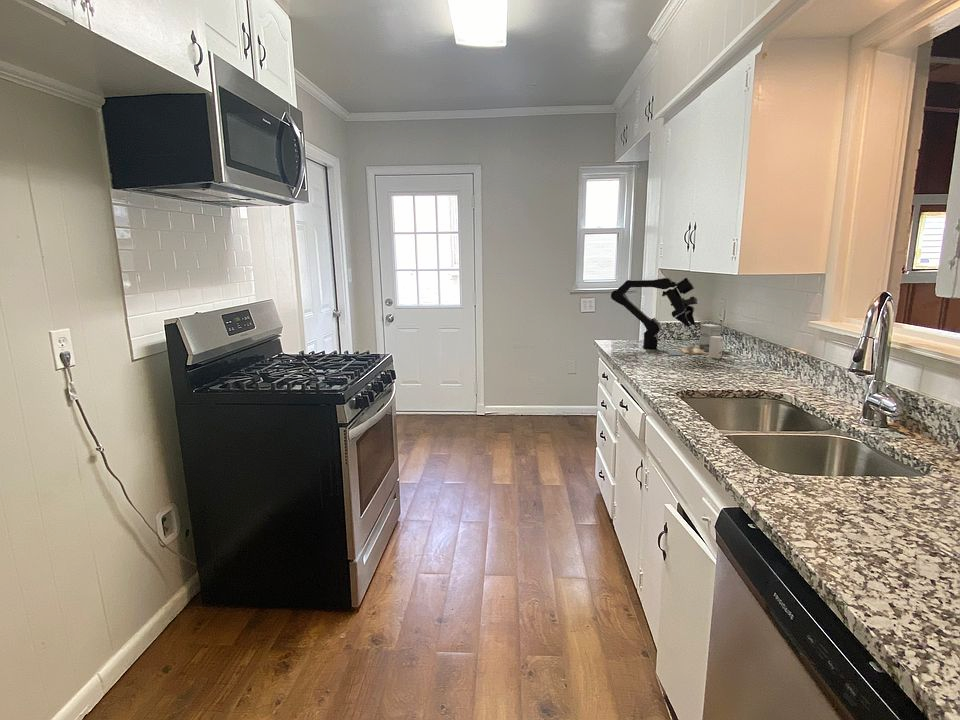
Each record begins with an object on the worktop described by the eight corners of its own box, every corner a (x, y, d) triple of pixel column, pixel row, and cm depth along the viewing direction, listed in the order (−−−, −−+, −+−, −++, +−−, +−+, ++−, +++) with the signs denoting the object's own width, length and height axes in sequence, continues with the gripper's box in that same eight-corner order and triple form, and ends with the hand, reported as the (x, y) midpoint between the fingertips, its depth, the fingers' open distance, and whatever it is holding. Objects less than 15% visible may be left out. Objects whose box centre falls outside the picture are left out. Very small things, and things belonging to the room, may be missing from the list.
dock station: (684, 353, 262) (685, 346, 261) (679, 349, 275) (679, 341, 274) (723, 355, 259) (724, 347, 258) (716, 350, 271) (717, 343, 271)
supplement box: (698, 347, 280) (700, 324, 277) (709, 347, 282) (711, 323, 279) (707, 350, 273) (710, 326, 270) (719, 349, 275) (721, 325, 272)
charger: (708, 357, 254) (710, 336, 252) (711, 355, 258) (713, 335, 256) (718, 358, 251) (720, 338, 249) (721, 357, 255) (723, 336, 252)
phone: (669, 356, 257) (669, 354, 257) (665, 352, 269) (665, 350, 269) (683, 357, 256) (683, 355, 256) (678, 352, 268) (678, 350, 267)
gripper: (684, 291, 255) (701, 318, 251) (695, 290, 269) (711, 316, 266) (664, 303, 261) (680, 330, 258) (676, 301, 276) (691, 327, 273)
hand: (691, 325), depth 264 cm, fingers open, 9 cm apart
